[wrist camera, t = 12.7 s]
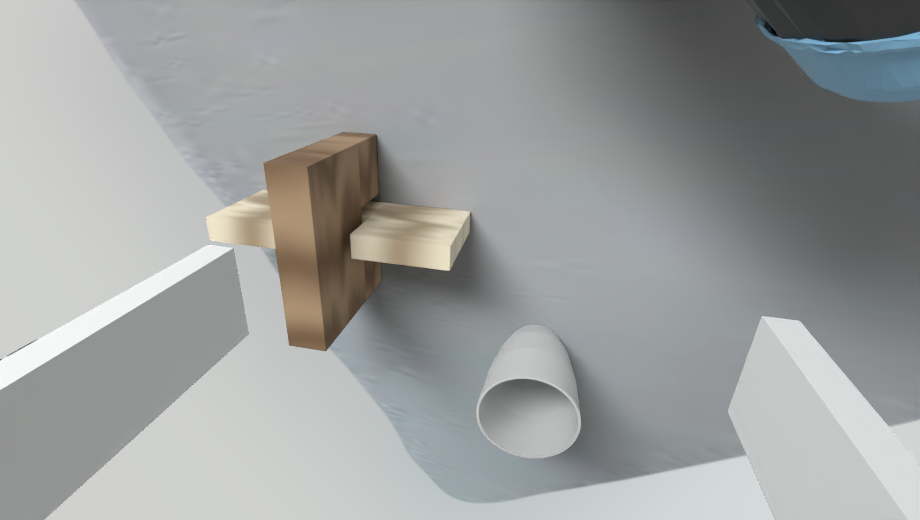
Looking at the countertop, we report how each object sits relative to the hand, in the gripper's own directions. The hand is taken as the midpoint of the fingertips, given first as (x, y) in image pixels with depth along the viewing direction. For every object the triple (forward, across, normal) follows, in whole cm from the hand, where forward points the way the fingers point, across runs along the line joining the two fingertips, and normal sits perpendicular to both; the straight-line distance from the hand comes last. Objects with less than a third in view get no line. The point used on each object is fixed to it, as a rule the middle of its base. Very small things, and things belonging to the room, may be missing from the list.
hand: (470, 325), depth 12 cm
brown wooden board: (+29, -15, -8) cm, 33 cm away
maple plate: (+29, -15, -8) cm, 33 cm away
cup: (+29, +2, -20) cm, 35 cm away
